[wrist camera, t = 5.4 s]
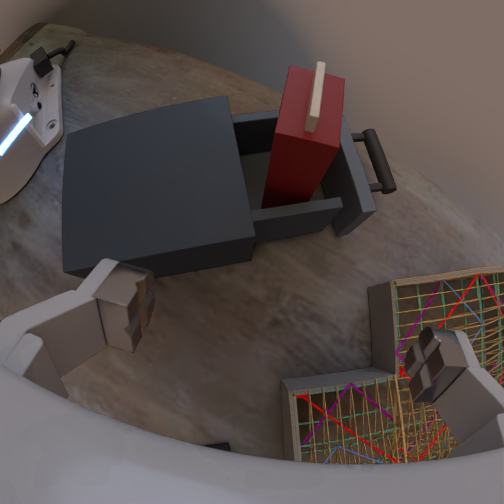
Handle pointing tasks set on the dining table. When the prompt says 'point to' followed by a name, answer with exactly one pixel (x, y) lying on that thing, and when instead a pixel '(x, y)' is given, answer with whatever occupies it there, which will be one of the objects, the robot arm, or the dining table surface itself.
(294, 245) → the dining table surface
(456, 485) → the robot arm
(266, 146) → the drawer
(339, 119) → the card box
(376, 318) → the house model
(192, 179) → the cabinet
